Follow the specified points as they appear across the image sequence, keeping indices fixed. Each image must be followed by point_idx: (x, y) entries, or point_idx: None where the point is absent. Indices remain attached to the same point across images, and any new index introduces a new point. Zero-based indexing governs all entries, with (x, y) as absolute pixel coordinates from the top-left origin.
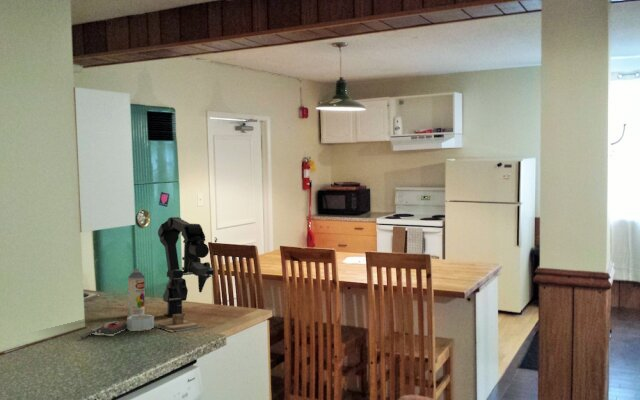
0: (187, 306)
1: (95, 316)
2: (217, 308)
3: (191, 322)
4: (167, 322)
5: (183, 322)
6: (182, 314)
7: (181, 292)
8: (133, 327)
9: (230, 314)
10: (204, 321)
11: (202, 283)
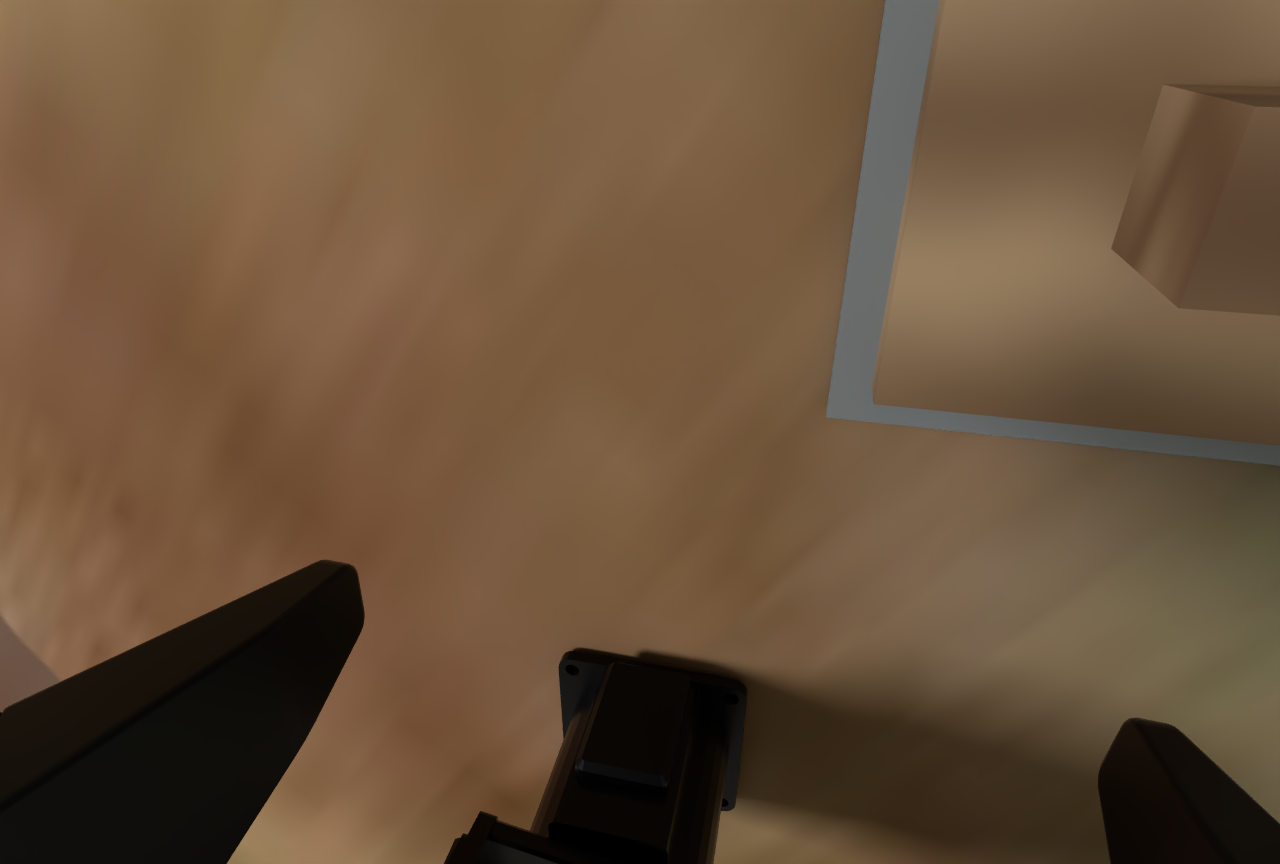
0: (348, 846)
1: None
2: (131, 628)
3: (963, 65)
4: (1243, 397)
5: (1171, 89)
6: (1245, 153)
7: (1182, 784)
8: None
9: (77, 313)
10: (559, 213)
11: (30, 781)
